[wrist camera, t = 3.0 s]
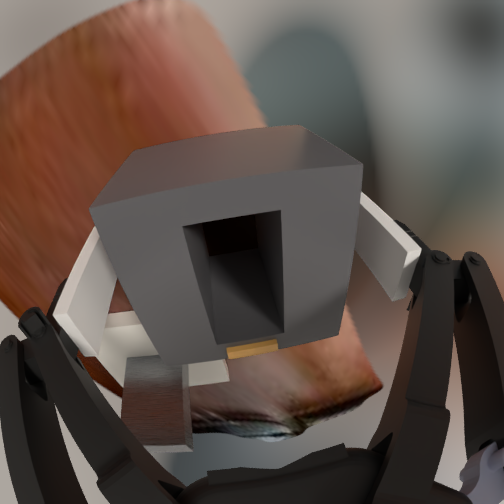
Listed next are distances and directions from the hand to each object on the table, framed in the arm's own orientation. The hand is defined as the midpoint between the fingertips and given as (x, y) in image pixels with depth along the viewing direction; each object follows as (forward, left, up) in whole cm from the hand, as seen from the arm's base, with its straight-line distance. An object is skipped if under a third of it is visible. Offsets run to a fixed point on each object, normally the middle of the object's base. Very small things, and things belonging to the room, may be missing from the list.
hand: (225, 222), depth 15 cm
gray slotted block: (0, 0, -2) cm, 2 cm away
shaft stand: (+8, +12, -2) cm, 14 cm away
